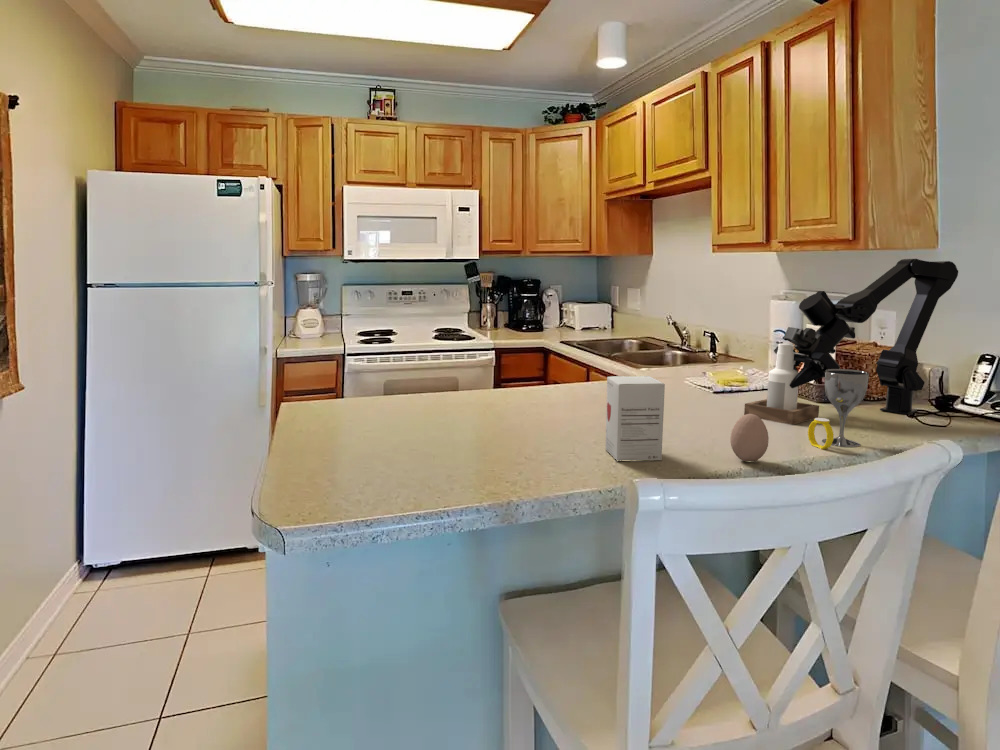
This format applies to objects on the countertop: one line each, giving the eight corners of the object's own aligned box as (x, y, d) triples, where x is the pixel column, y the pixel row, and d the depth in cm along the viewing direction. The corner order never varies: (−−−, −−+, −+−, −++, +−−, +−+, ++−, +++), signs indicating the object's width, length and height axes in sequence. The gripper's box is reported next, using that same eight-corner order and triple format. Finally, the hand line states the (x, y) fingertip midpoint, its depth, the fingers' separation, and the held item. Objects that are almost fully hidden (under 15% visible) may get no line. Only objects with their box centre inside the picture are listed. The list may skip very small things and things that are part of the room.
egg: (728, 455, 125) (731, 409, 124) (765, 458, 123) (768, 411, 122) (730, 465, 119) (732, 416, 118) (768, 468, 117) (772, 418, 116)
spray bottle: (769, 412, 164) (774, 342, 162) (798, 415, 161) (803, 343, 158) (763, 417, 159) (767, 344, 156) (793, 420, 155) (798, 346, 152)
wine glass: (868, 448, 130) (875, 375, 128) (825, 446, 132) (831, 374, 130) (855, 439, 138) (861, 369, 136) (815, 437, 140) (820, 368, 137)
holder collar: (771, 409, 168) (771, 398, 168) (818, 417, 159) (819, 405, 158) (744, 415, 161) (744, 403, 160) (792, 424, 151) (792, 412, 151)
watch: (835, 452, 129) (839, 423, 128) (822, 452, 128) (826, 424, 127) (814, 442, 135) (818, 415, 133) (803, 443, 134) (806, 415, 133)
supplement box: (603, 449, 129) (606, 375, 127) (647, 448, 130) (650, 375, 128) (615, 462, 120) (618, 383, 118) (662, 461, 121) (666, 382, 119)
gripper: (783, 313, 166) (741, 357, 166) (832, 318, 148) (785, 367, 147) (808, 343, 169) (767, 386, 168) (860, 351, 150) (813, 400, 150)
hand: (781, 384), depth 158 cm, fingers closed on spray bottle, 7 cm apart
